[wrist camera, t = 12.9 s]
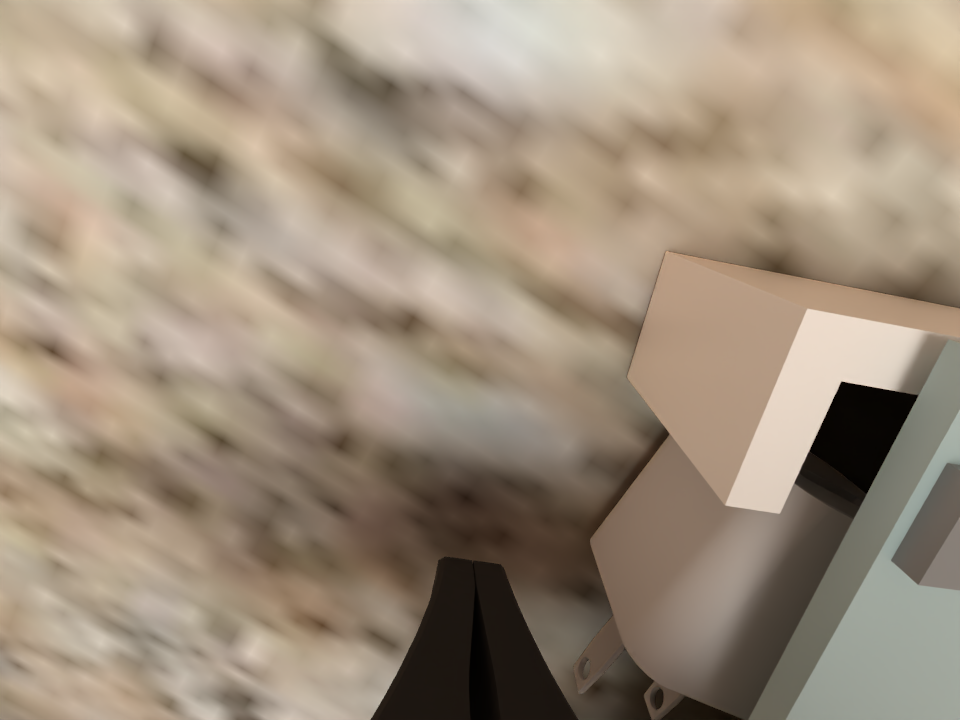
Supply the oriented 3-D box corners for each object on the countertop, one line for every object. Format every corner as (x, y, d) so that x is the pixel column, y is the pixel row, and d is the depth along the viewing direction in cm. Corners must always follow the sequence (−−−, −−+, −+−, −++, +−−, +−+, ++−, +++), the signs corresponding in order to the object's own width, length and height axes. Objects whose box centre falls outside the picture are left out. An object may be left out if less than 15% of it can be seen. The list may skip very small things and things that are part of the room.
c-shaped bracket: (779, 798, 16) (889, 1020, 12) (505, 770, 16) (519, 996, 11) (1061, 328, 11) (1436, 427, 7) (666, 250, 10) (806, 308, 6)
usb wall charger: (823, 459, 12) (979, 586, 9) (653, 649, 14) (720, 820, 11) (689, 385, 12) (797, 489, 8) (530, 598, 14) (555, 761, 10)
